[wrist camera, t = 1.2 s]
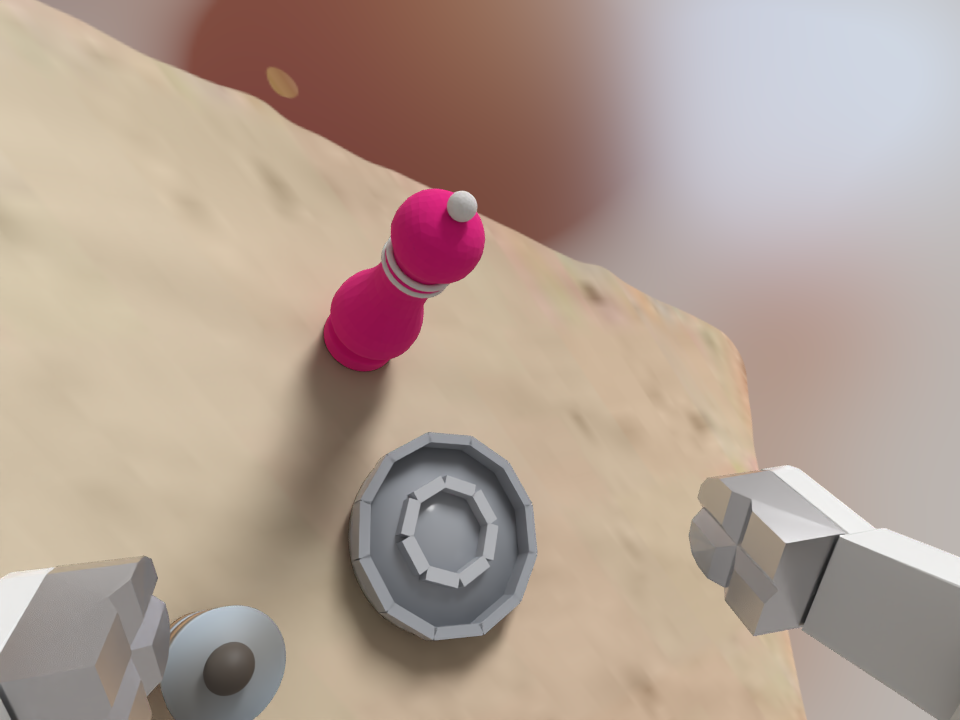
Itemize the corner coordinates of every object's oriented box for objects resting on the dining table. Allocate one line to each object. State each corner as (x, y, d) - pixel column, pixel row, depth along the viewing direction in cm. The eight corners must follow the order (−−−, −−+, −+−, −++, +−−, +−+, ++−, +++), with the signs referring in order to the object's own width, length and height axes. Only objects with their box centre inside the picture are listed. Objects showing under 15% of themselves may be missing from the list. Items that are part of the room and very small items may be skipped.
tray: (312, 495, 41) (322, 488, 39) (463, 414, 50) (477, 405, 48) (409, 683, 39) (425, 687, 37) (547, 565, 48) (565, 562, 46)
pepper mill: (402, 379, 48) (531, 260, 32) (319, 376, 44) (418, 240, 29) (394, 305, 51) (510, 161, 35) (315, 296, 47) (404, 132, 31)
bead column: (140, 640, 33) (141, 654, 19) (215, 596, 35) (263, 581, 22) (172, 710, 32) (197, 773, 19) (246, 659, 35) (314, 684, 21)
